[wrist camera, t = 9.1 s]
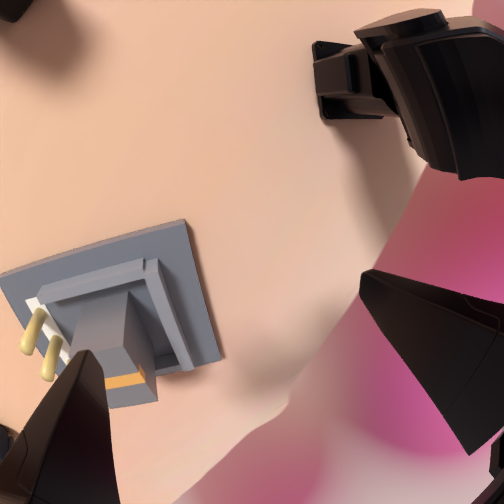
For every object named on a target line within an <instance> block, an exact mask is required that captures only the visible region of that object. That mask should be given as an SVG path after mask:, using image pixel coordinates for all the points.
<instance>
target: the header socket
mask: <svg viewBox="0 0 504 504" xmlns="http://www.w3.org/2000/svg"><path fill="white" fill-rule="evenodd" d="M0 287H1V289H2V291H3V293H4V295H5V297H6V299H7V300H8V302H9V304H10V306H11V308H12V309H13V311H14V313H15V315H16V316H17V318H18V320H19V321H20V323H21V325H22V326H23V328H24V329H25V333H24V335H23V337H22V340H21V342H20V345H19V349H20V350H21V352H22V353H24V354H25V355H29V356H30V355H32V354H33V351H34V348H35V346H36V347H37V349H38V350H39V352H40V353H41V354H42V356H43V357H44V362H43V365H42V369H41V373H40V376H41V378H42V379H44V380H45V381H47V382H52V381H53V380H54V376H55V373H56V374H57V375H58V377H59V375H60V374H61V373H62V371H63V370H64V369H65V367H66V366H67V365H68V363H69V362H70V361H71V360H70V358H69V357H68V356H69V352H70V348H71V344H72V340H73V336H74V332H75V329H76V325H77V321H78V318H79V315H80V311H81V308H82V305H83V302H85V301H89V300H93V299H96V298H100V297H104V296H108V295H112V294H116V293H120V292H124V291H129V294H130V296H131V298H132V301H133V303H134V305H135V308H136V310H137V312H138V314H139V317H140V319H141V321H142V323H143V325H144V328H145V330H146V332H147V334H148V336H149V338H150V340H151V342H152V344H153V348H154V363H155V375H156V376H160V375H164V374H169V373H173V372H177V371H181V370H183V372H186V371H190V370H194V369H195V368H194V367H197V366H201V365H205V364H209V363H213V362H216V361H220V360H222V359H221V356H220V353H219V350H218V346H217V343H216V340H215V336H214V333H213V329H212V326H211V323H210V319H209V316H208V312H207V308H206V305H205V301H204V297H203V294H202V290H201V286H200V282H199V279H198V275H197V271H196V267H195V263H194V259H193V255H192V251H191V247H190V242H189V238H188V234H187V230H186V225H185V221H184V219H181V220H177V221H173V222H169V223H165V224H161V225H157V226H153V227H150V228H146V229H142V230H138V231H135V232H131V233H127V234H124V235H120V236H117V237H113V238H110V239H106V240H103V241H99V242H96V243H93V244H89V245H86V246H83V247H79V248H76V249H73V250H70V251H66V252H63V253H60V254H57V255H54V256H51V257H48V258H45V259H42V260H39V261H36V262H33V263H30V264H27V265H24V266H21V267H18V268H15V269H12V270H10V271H7V272H4V273H1V275H0Z"/></svg>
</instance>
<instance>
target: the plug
mask: <svg viewBox="0 0 504 504" xmlns="http://www.w3.org/2000/svg"><path fill="white" fill-rule="evenodd" d="M85 349H89V350H91V351H92V353H93V354H94V356H95V357H96V359H97V360H98V362H99V363H100V365H101V366H102V368H103V371H104V379H105V387H106V395H107V402H108V407H109V408H110V409H114V408H121V407H127V406H134V405H140V404H145V403H151V402H156V401H158V395H157V386H156V375H155V363H154V348H153V344H152V342H151V340H150V338H149V336H148V334H147V332H146V330H145V328H144V325H143V323H142V321H141V319H140V317H139V314H138V312H137V310H136V308H135V305H134V303H133V301H132V298H131V296H130V294H129V291H124V292H120V293H116V294H112V295H108V296H104V297H100V298H96V299H93V300H89V301H85V302H83V305H82V308H81V311H80V315H79V318H78V321H77V325H76V329H75V332H74V336H73V340H72V344H71V348H70V352H69V356H68V357H69V358H70V360H71V359H72V358H73V357H74V355H75V354H76V353H77V352H78V351H80V350H85Z"/></svg>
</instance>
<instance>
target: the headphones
mask: <svg viewBox="0 0 504 504" xmlns="http://www.w3.org/2000/svg"><path fill="white" fill-rule="evenodd" d="M13 444H14V439H13V437H12V436H10V437H9V436H8V434H7V432H6V430H5V429H4V427H3V426H0V463H1V462H2V460H3V459H4V458H5V456H6V455H7V453H8V452H9V450H10V449H11V447H12V446H13Z"/></svg>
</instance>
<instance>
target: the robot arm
mask: <svg viewBox="0 0 504 504" xmlns="http://www.w3.org/2000/svg"><path fill="white" fill-rule="evenodd" d="M353 32H354V34H355V35H356V37H357V38H358V39H360V40H361V42H362V44H358V45H355V46H353V45H347V44H340V43H333V42H325V41H316V42H314V43H313V44H312V51H313V58H314V63H313V67H314V75H315V83H316V92H317V94H318V99H319V110H320V116H321V117H322V118H323V119H382V118H383V117H384V116H391V117H400V119H401V121H402V124H403V126H404V129H405V131H406V134H407V137H408V138H407V140H408V143H409V146H410V147H412V148H413V149H415V151H416V152H417V154H418V156H420V157H421V158H422V159H424V160H425V161H426V162H428V163H429V166H430V167H431V168H433V169H436V170H439V171H442V172H449V173H456V174H458V179H459V180H461V181H462V180H467V179H471V178H476V177H495V178H501V179H504V30H502V29H500V28H498V27H496V26H494V25H492V24H490V23H488V22H486V21H484V20H482V19H479V18H477V17H474V16H464V17H454V18H446V19H445V17H444V15H443V13H442V11H441V10H440V9H414V10H410V11H406V12H402V13H398V14H394V15H391V16H389V17H386V18H384V19H381V20H379V21H376V22H374V23H371V24H369V25H367V26H364V27H362V28H360V29H357V30H355V31H353ZM317 45H319V46H320V49H319V48H318V47H317ZM326 110H327V111H328V115H326V114H325V111H326ZM359 295H360V298H361V300H362V301H363V303H364V305H365V306H366V308H367V309H368V311H369V312H370V314H371V316H372V317H373V319H374V320H375V322H376V324H377V325H378V327H379V328H380V330H381V331H382V333H383V334H384V336H385V337H386V338H387V339H388V341H389V342H390V343H391V345H392V346H393V347H394V349H395V350H396V351H397V353H398V354H399V355H400V356H401V358H402V359H403V361H404V362H405V363H406V364H407V366H408V367H409V369H410V370H411V371H412V373H413V374H414V376H415V377H416V378H417V380H418V381H419V383H420V384H421V385H422V387H423V388H424V389H425V391H426V392H427V394H428V395H429V397H430V398H431V400H432V401H433V402H434V404H435V405H436V407H437V408H438V410H439V411H440V413H441V414H442V415H443V417H444V419H445V420H446V422H447V423H448V425H449V426H450V428H451V429H452V431H453V432H454V434H455V436H456V437H457V439H458V440H459V442H460V443H461V445H462V447H463V448H464V450H465V451H466V453H467V454H468V455H469V456H470V455H471V454H472V453H474V452H475V451H476V450H477V449H479V448H480V447H481V446H482V445H483V444H485V443H486V442H487V441H488V440H489V439H490V438H492V437H493V435H495V434H496V433H497V432H498V431H499V430H500V429H502V430H503V431H502V432H501V434H500V435H499V436H498V437H497V439H496V440H495V441H494V442H493V444H492V445H491V458H490V468H489V472H490V474H491V475H492V476H493V477H494V480H493V481H492V482H491V483H490V485H489V486H488V487H487V488H486V489H485V490H484V491H483V492H482V493H481V494H480V495H479V496H478V497H477V498H476V499H475V500H474V501H473V502H472V503H471V504H504V304H502V303H497V302H493V301H488V300H484V299H480V298H476V297H473V296H469V295H466V294H461V293H458V292H455V291H451V290H448V289H444V288H441V287H437V286H433V285H429V284H426V283H423V282H419V281H415V280H412V279H408V278H405V277H401V276H397V275H394V274H390V273H386V272H382V271H379V270H375V269H370V270H367V271H364V272H363V273H362V274H361V279H360V288H359ZM23 429H24V430H22V431H21V433H20V434H19V436H18V438H17V439H16V441H15V442H14V444H13V446H12V447H11V449H10V450H9V452H8V453H7V455H6V456H5V458H4V459H3V460H2V462H1V463H0V504H120V499H119V493H118V488H117V482H116V475H115V468H114V461H113V452H112V442H111V430H110V417H109V408H108V402H107V395H106V387H105V379H104V371H103V368H102V366H101V365H100V363H99V362H98V360H97V359H96V357H95V356H94V354H93V353H92V351H91V350H89V349H85V350H80V351H78V352H77V353H76V354H75V355H74V357H73V358H72V359H71V361H70V362H69V363H68V365H67V366H66V367H65V369H64V370H63V371H62V373H61V374H60V375H59V377H58V378H57V380H56V381H55V382H54V384H53V385H52V387H51V388H50V389H49V391H48V392H47V394H46V395H45V396H44V398H43V399H42V401H41V402H40V404H39V405H38V407H37V408H36V410H35V411H34V413H33V414H32V416H31V417H30V419H29V420H28V422H27V423H26V425H25V427H24V428H23Z"/></svg>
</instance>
